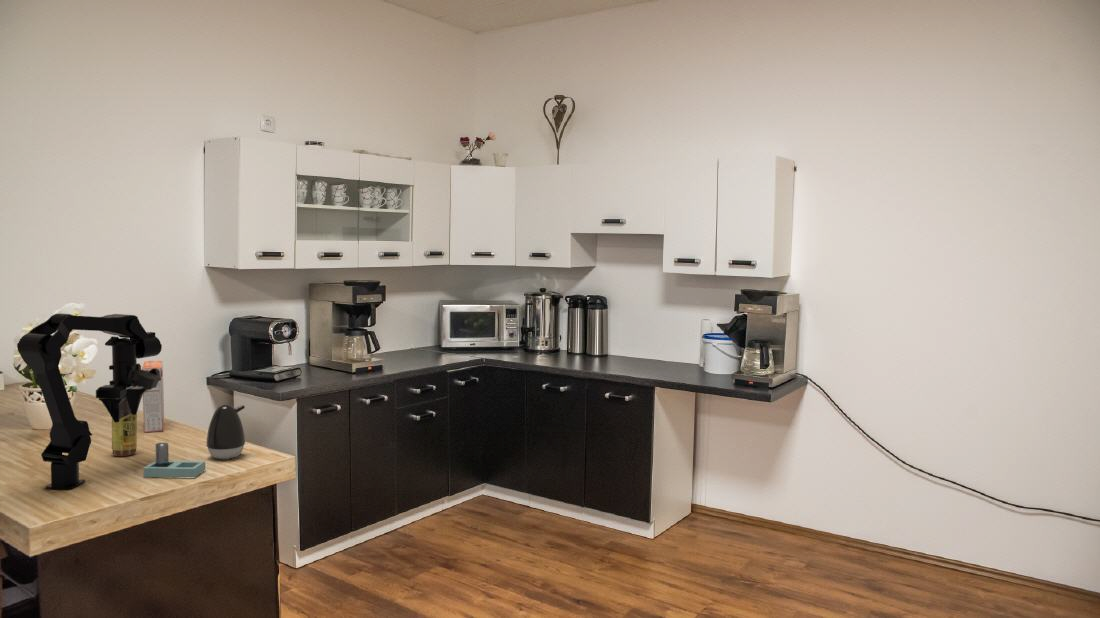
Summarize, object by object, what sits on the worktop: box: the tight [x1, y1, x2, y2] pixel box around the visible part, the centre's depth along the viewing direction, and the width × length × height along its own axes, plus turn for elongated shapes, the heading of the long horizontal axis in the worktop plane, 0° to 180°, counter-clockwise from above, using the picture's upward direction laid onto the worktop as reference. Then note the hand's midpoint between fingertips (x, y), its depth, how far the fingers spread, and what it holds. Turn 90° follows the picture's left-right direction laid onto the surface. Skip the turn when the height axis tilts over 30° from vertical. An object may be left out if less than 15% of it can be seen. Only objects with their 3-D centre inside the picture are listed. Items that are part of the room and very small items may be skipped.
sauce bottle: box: [111, 395, 138, 457], centre depth 224 cm, size 7×6×20 cm
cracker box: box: [141, 360, 165, 433], centre depth 256 cm, size 14×6×21 cm, turn 25°
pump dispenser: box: [205, 403, 246, 460], centre depth 224 cm, size 10×10×15 cm
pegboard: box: [142, 460, 206, 479], centre depth 208 cm, size 7×13×2 cm, turn 92°
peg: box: [155, 442, 170, 467], centre depth 208 cm, size 3×3×8 cm
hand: (125, 418), depth 213 cm, fingers open, 9 cm apart
